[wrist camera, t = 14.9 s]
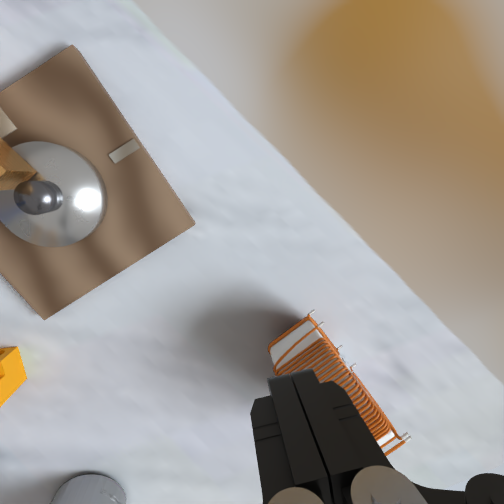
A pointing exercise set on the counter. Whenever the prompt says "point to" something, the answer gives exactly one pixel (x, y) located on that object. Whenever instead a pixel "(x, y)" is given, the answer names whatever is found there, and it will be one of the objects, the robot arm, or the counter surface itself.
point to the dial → (50, 193)
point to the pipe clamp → (10, 372)
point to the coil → (330, 373)
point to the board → (110, 168)
